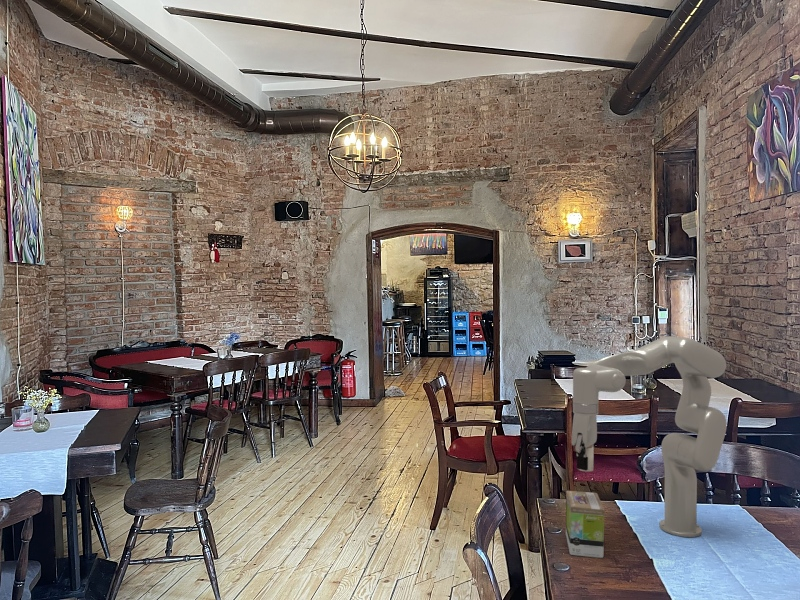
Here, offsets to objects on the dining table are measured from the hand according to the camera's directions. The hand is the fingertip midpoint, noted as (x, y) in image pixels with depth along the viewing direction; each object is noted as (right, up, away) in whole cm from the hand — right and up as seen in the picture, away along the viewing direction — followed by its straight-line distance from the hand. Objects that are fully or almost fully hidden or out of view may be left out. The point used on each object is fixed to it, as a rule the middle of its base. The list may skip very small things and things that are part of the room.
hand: (585, 466), depth 173 cm
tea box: (0, -25, 0) cm, 25 cm away
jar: (0, -1, 0) cm, 1 cm away
